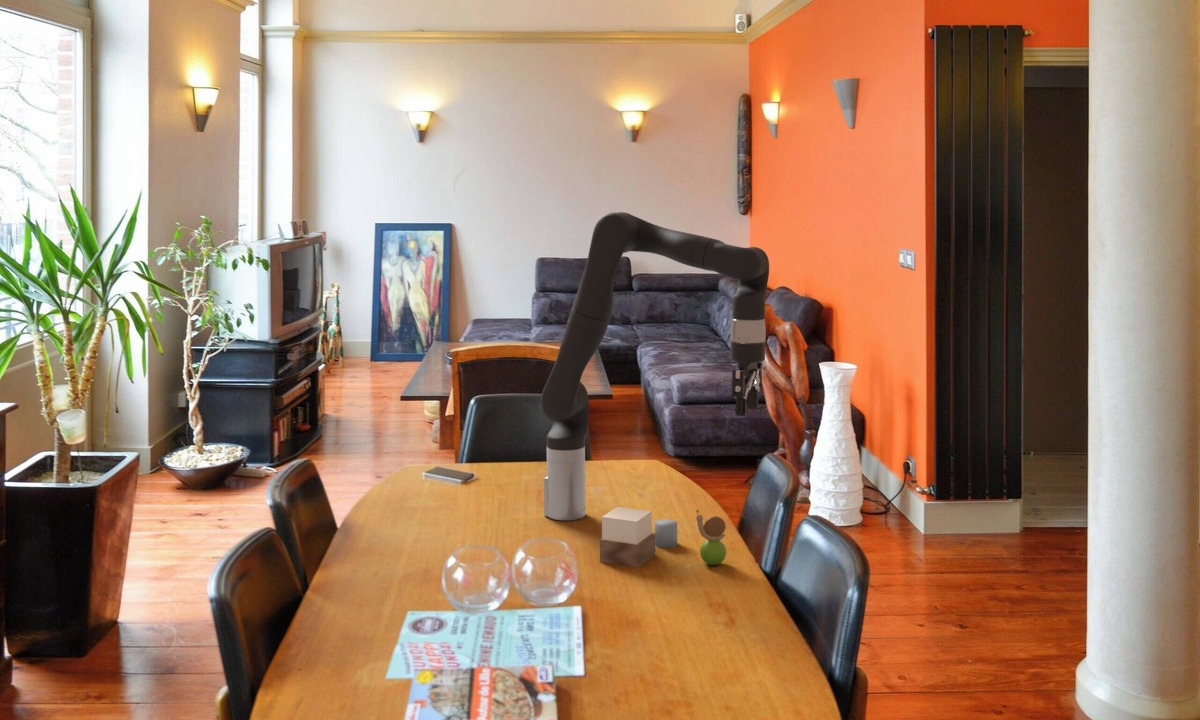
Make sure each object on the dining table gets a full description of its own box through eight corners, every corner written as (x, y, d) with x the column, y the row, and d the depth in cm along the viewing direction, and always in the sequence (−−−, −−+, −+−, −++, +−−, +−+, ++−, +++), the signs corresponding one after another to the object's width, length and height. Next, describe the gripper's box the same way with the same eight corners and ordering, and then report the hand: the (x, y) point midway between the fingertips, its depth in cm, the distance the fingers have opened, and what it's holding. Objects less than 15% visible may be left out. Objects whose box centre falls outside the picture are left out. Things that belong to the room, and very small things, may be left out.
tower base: (599, 562, 226) (599, 539, 225) (617, 550, 234) (617, 527, 233) (638, 568, 222) (638, 545, 221) (655, 555, 230) (655, 533, 229)
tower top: (602, 539, 225) (601, 516, 225) (617, 529, 232) (617, 506, 232) (636, 544, 222) (636, 521, 221) (651, 533, 229) (651, 511, 228)
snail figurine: (693, 560, 226) (693, 505, 224) (723, 559, 227) (723, 505, 225) (697, 569, 221) (698, 513, 219) (728, 568, 221) (729, 512, 220)
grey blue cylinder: (651, 546, 236) (651, 524, 235) (659, 539, 240) (659, 518, 239) (672, 549, 234) (672, 527, 233) (680, 542, 238) (680, 521, 237)
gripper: (741, 334, 241) (740, 405, 243) (721, 342, 228) (720, 416, 230) (774, 336, 238) (772, 407, 240) (754, 344, 225) (753, 419, 227)
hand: (746, 412), depth 235 cm, fingers open, 8 cm apart
